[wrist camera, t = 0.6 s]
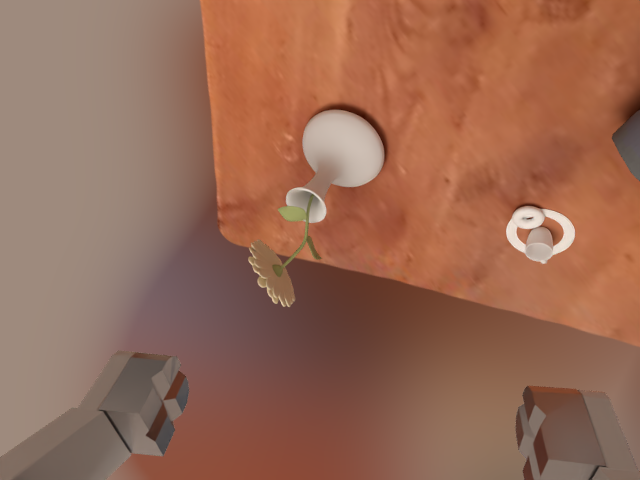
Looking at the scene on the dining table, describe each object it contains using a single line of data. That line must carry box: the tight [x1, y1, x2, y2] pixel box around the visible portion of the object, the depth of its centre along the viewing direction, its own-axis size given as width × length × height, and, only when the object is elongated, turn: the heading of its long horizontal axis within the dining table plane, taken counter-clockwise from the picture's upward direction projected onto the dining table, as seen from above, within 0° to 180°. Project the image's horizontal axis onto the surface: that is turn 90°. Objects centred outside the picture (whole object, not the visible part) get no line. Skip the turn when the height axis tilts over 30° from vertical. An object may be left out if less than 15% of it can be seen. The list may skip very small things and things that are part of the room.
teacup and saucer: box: [506, 206, 575, 264], centre depth 56 cm, size 9×8×4 cm
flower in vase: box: [248, 110, 384, 307], centre depth 52 cm, size 13×11×25 cm
